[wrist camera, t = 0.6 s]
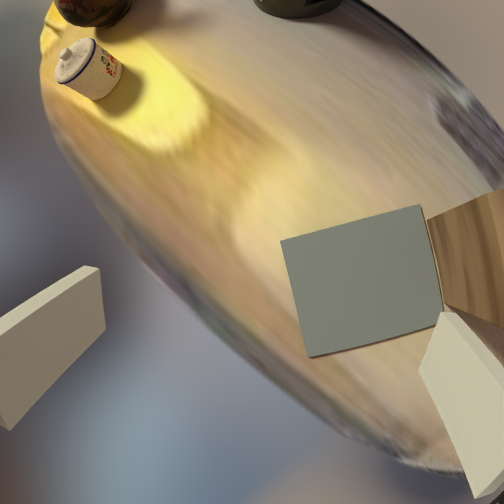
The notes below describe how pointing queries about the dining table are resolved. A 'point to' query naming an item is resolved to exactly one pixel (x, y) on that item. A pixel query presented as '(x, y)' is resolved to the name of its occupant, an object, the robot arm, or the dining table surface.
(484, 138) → the dining table surface
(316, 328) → the slate mat
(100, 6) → the ceramic jug
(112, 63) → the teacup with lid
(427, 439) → the dining table surface
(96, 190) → the dining table surface
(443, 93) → the dining table surface
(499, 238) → the walnut slab
